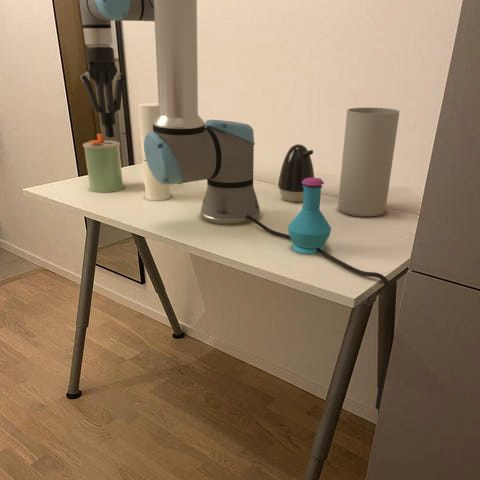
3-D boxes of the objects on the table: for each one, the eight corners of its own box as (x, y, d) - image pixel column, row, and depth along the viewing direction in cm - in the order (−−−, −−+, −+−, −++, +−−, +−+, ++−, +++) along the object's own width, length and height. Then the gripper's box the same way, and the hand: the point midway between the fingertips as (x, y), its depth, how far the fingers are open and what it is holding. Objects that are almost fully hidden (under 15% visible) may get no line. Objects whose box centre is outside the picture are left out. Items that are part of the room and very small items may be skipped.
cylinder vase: (365, 202, 143) (377, 106, 131) (395, 214, 133) (410, 112, 121) (328, 207, 138) (337, 109, 126) (356, 220, 128) (368, 114, 116)
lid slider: (104, 143, 148) (103, 135, 147) (93, 144, 147) (92, 136, 146) (99, 141, 151) (98, 133, 150) (89, 142, 150) (88, 134, 149)
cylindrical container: (168, 200, 144) (162, 105, 132) (143, 200, 144) (135, 105, 132) (172, 193, 150) (166, 103, 138) (148, 193, 150) (140, 102, 138)
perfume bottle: (325, 240, 115) (331, 174, 108) (332, 255, 107) (339, 184, 100) (284, 241, 115) (288, 174, 107) (289, 256, 107) (293, 185, 99)
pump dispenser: (296, 206, 138) (299, 149, 131) (270, 198, 145) (272, 143, 138) (321, 200, 144) (325, 144, 137) (295, 193, 151) (298, 139, 144)
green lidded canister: (129, 189, 155) (124, 144, 148) (95, 194, 150) (89, 147, 143) (117, 182, 163) (112, 139, 156) (84, 186, 158) (78, 142, 151)
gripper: (116, 46, 145) (125, 133, 156) (71, 46, 138) (84, 136, 150) (126, 46, 139) (135, 136, 151) (80, 46, 133) (93, 140, 144)
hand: (110, 136), depth 150 cm, fingers closed
